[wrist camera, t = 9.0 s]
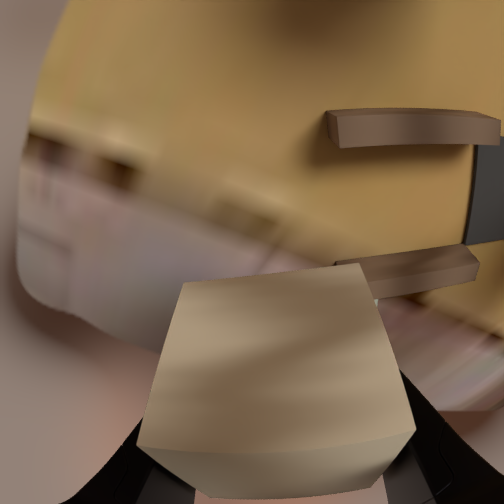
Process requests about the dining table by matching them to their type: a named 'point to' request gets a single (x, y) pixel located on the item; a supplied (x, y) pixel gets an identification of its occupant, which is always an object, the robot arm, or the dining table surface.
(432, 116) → the walnut channel
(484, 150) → the tile
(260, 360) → the beech block
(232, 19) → the dining table surface
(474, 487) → the robot arm
